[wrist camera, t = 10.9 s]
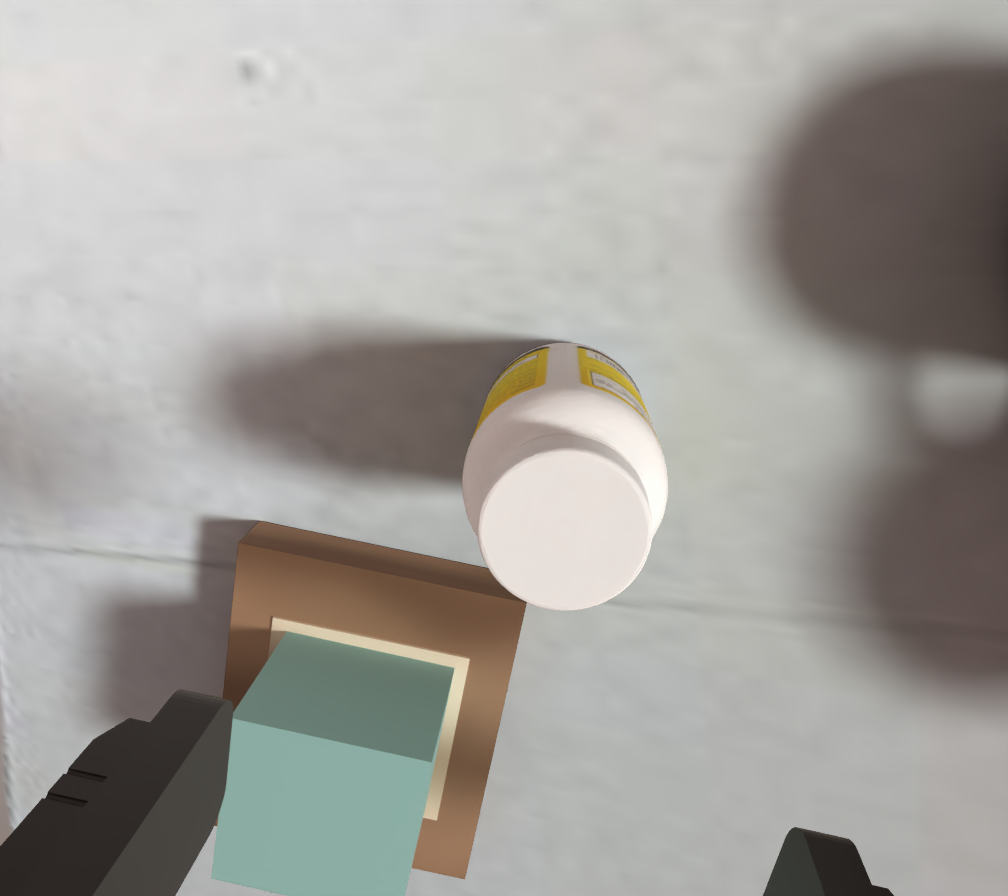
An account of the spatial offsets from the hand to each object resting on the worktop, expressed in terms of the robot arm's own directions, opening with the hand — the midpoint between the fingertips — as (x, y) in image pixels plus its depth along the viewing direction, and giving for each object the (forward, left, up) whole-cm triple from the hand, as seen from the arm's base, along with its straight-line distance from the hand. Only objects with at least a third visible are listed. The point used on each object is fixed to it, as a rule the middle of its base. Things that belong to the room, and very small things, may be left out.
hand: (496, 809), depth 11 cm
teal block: (+11, -4, -15) cm, 19 cm away
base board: (+11, -4, -17) cm, 21 cm away
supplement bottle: (-1, +1, -17) cm, 18 cm away
